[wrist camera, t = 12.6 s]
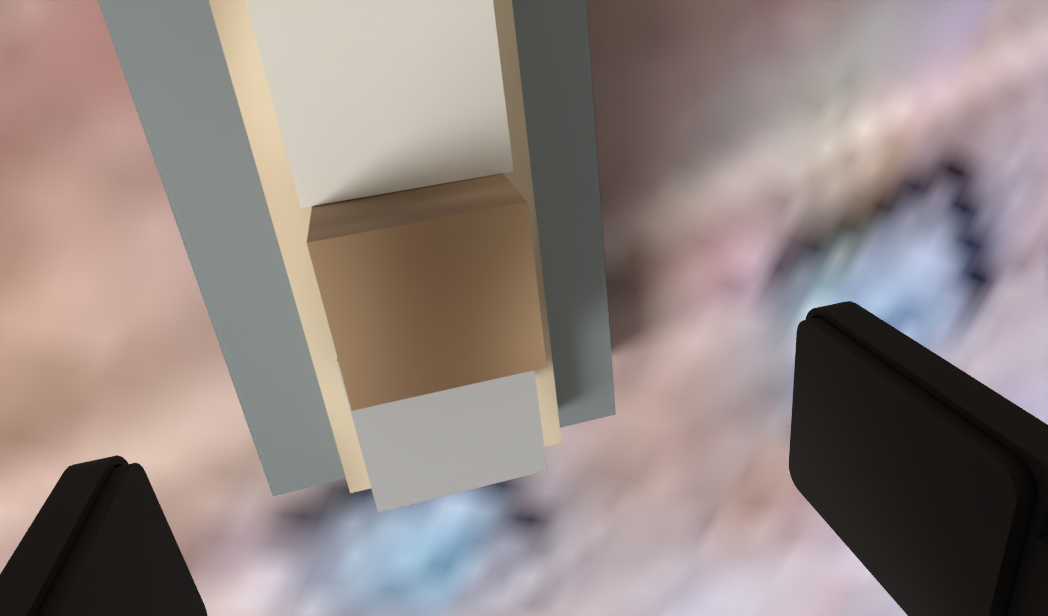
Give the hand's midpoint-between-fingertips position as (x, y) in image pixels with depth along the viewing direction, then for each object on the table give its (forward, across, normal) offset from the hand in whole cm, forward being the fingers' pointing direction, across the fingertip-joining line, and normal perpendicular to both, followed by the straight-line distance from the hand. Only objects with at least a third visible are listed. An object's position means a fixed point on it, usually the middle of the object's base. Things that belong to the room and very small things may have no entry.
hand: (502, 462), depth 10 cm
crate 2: (+13, +1, +4) cm, 14 cm away
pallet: (+15, +1, 0) cm, 15 cm away
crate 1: (+13, +1, -4) cm, 14 cm away
